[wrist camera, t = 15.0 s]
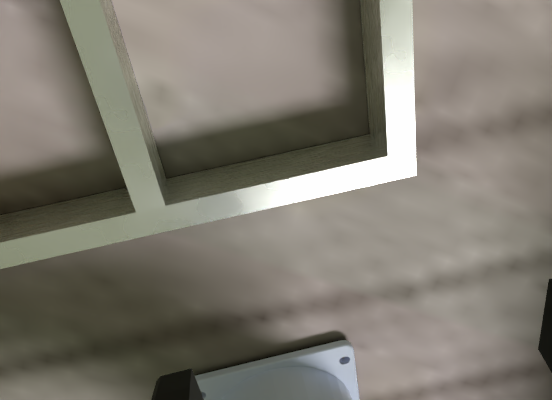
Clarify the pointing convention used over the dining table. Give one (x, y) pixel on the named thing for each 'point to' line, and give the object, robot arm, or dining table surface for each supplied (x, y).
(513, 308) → the dining table surface
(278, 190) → the rack
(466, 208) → the dining table surface
